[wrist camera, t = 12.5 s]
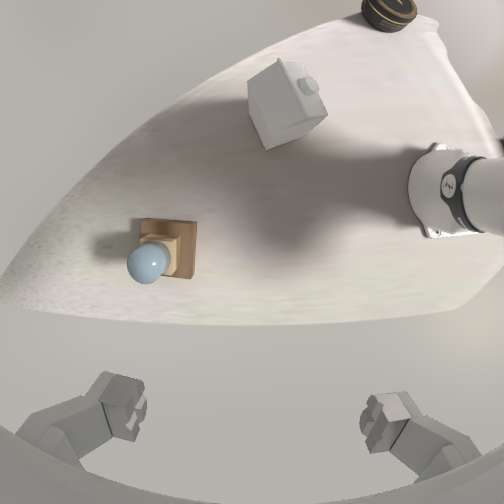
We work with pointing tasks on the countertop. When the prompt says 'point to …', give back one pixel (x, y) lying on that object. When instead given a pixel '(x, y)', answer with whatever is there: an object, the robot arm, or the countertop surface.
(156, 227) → the walnut pedestal
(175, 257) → the oak cube
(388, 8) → the jar
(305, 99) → the milk carton
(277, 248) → the countertop surface
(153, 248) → the ceramic cylinder
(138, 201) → the countertop surface
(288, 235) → the countertop surface
